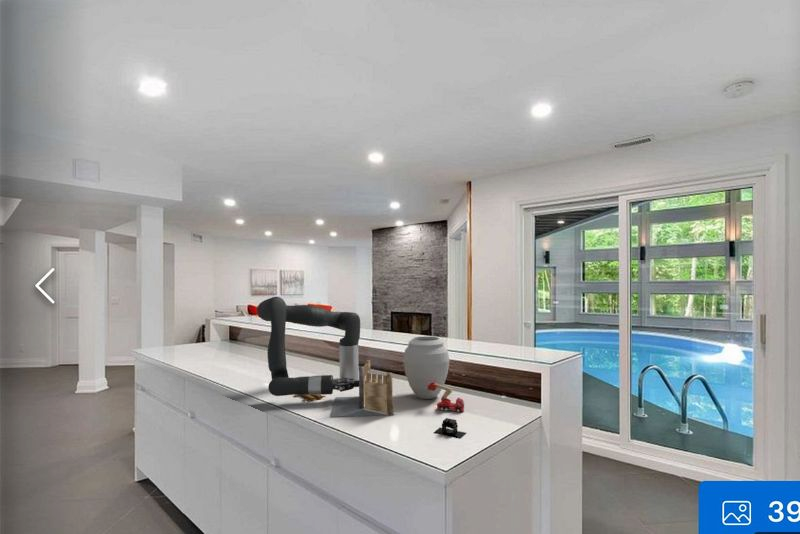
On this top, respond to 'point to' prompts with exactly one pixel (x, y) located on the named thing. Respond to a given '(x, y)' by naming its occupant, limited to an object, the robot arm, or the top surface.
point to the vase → (426, 365)
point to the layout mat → (352, 408)
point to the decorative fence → (310, 397)
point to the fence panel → (366, 369)
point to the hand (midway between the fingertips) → (363, 383)
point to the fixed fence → (376, 392)
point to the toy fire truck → (445, 401)
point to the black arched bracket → (449, 432)
